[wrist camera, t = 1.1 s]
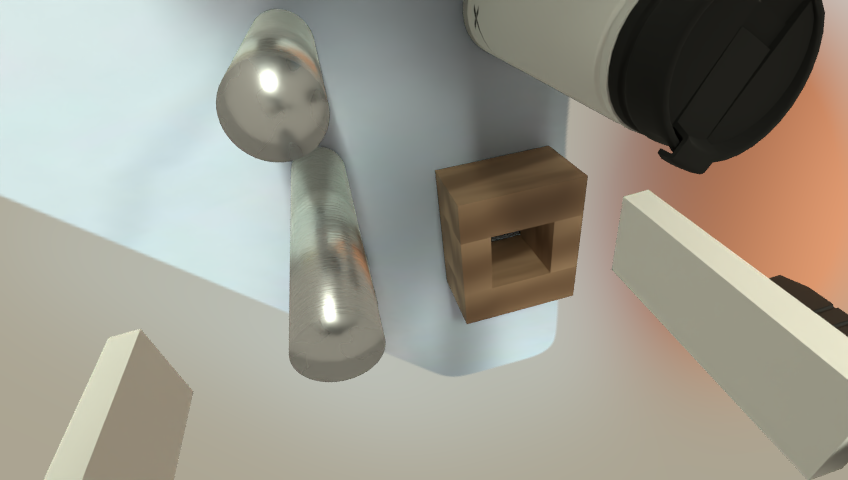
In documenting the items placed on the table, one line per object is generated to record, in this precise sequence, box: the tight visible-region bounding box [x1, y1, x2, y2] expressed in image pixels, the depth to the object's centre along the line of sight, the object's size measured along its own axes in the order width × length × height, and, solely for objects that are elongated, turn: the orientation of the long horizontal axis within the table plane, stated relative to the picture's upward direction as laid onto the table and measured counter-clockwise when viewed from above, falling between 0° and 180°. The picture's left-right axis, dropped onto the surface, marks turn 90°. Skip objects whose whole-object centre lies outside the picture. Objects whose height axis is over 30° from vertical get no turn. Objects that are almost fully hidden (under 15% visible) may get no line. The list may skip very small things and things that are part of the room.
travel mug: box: [463, 0, 825, 174], centre depth 21 cm, size 6×7×20 cm
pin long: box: [289, 146, 385, 382], centre depth 25 cm, size 4×4×18 cm
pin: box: [216, 9, 329, 162], centre depth 22 cm, size 4×4×14 cm
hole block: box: [435, 146, 588, 324], centre depth 37 cm, size 12×10×6 cm
